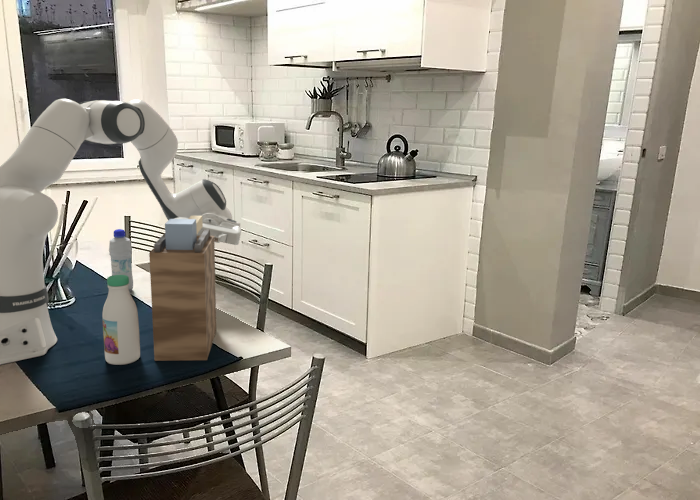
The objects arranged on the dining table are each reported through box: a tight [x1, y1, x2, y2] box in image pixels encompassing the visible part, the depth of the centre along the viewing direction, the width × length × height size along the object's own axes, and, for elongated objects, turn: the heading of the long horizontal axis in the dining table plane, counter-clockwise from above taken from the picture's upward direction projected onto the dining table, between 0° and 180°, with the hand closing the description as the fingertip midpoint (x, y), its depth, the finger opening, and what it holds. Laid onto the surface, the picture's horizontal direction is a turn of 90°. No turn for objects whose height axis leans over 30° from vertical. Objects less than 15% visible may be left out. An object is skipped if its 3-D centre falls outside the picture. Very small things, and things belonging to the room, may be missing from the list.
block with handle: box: [164, 216, 203, 250], centre depth 145 cm, size 26×6×6 cm, turn 6°
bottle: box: [108, 228, 134, 292], centre depth 180 cm, size 7×7×20 cm
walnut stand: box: [148, 229, 217, 362], centre depth 141 cm, size 18×12×28 cm, turn 6°
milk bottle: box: [101, 275, 141, 366], centre depth 133 cm, size 8×8×20 cm
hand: (200, 236), depth 162 cm, fingers open, 8 cm apart
